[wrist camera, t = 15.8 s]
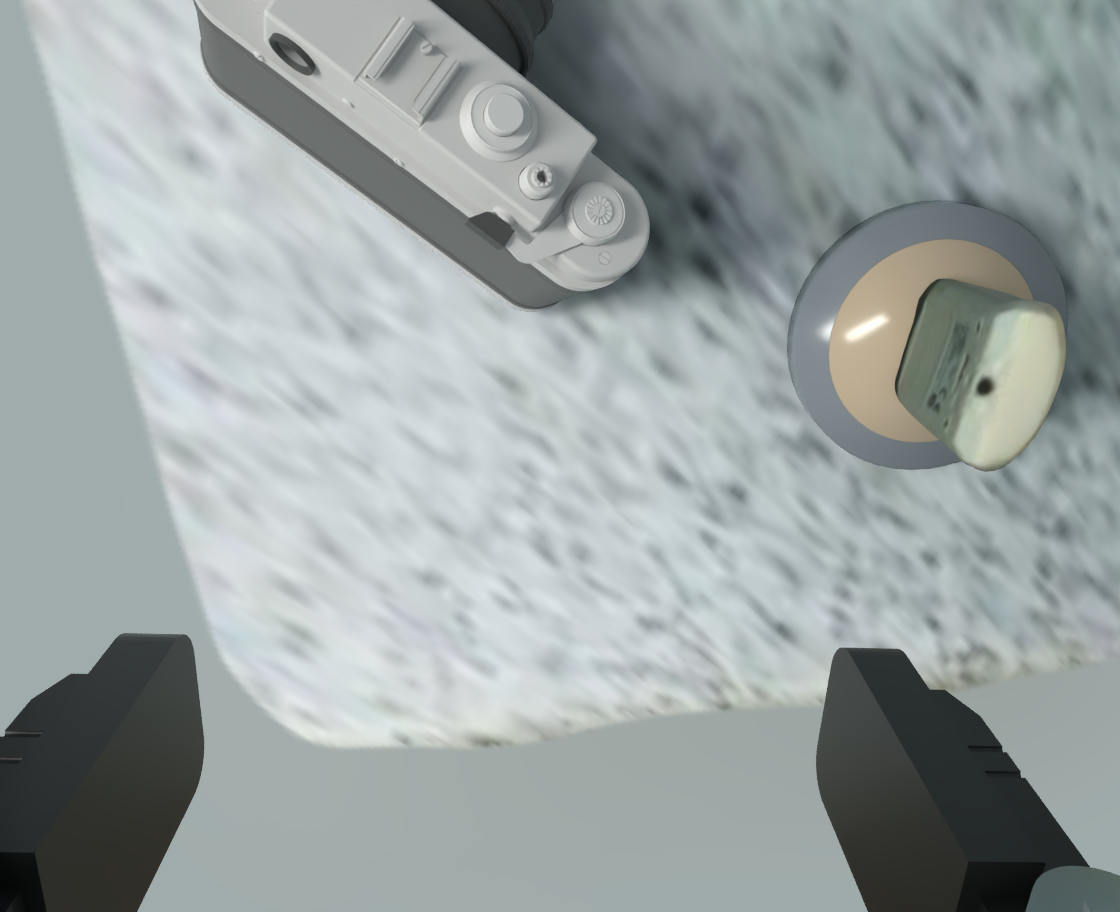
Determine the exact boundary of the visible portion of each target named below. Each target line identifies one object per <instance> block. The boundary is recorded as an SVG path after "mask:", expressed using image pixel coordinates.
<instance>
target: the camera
mask: <svg viewBox="0 0 1120 912" xmlns="http://www.w3.org/2000/svg"><path fill="white" fill-rule="evenodd" d="M193 1H194V5H195V7H196V10H197V15H198V22H199V28H200V34H201V43H200V50H201V58H202V63H203V67H204V70H205V73H206V75H207V77H208V79H209V81H210V82H211V84H212V85H213V87H214V88H215V89H216V90H217V91H218V92H219V93H220V94H221V95H222V96H223V97H225V98H226V99H228V100H229V101H230V102H232V103H233V104H234V105H236V106H237V107H238V108H240V109H241V110H242V111H244V112H245V113H247V114H248V115H249V116H251V117H252V118H253V119H255V120H256V121H257V122H259V123H260V124H262V125H263V126H264V127H266V128H267V129H268V130H270V131H271V132H272V133H274V134H275V135H277V136H278V137H279V138H281V139H282V140H283V141H285V142H286V143H287V144H289V145H290V146H291V147H293V148H294V149H296V150H297V151H298V152H300V153H301V154H302V155H304V156H305V157H306V158H308V159H309V160H311V161H312V162H313V163H315V164H316V165H317V166H319V167H320V168H321V169H323V170H324V171H325V172H327V173H328V174H330V175H331V176H332V177H334V178H335V179H336V180H338V181H339V182H340V183H342V184H343V185H345V186H346V187H347V188H349V189H350V190H351V191H353V192H354V193H355V194H357V195H358V196H360V197H361V198H362V199H364V200H365V201H366V202H368V203H369V204H370V205H372V206H373V207H374V208H376V209H377V210H379V211H380V212H381V213H383V214H384V215H385V216H387V217H388V218H389V219H391V220H392V221H394V222H395V223H396V224H398V225H399V226H400V227H402V228H403V229H404V230H406V231H407V232H409V233H410V234H411V235H413V236H414V237H415V238H417V239H418V240H419V241H421V242H422V243H423V244H425V245H426V246H428V247H429V248H430V249H432V250H433V251H434V252H436V253H437V254H438V255H440V256H441V257H443V258H444V259H445V260H447V261H448V262H449V263H451V264H452V265H453V266H455V267H456V268H457V269H459V270H460V271H462V272H463V273H464V274H466V275H467V276H468V277H470V278H471V279H472V280H474V281H475V282H477V283H478V284H479V285H481V286H482V287H483V288H485V289H486V290H487V291H489V292H490V293H492V294H493V295H494V296H496V297H497V298H498V299H500V300H501V301H502V302H504V303H505V304H507V305H508V306H510V307H512V308H514V309H517V310H520V311H526V312H534V311H540V310H543V309H546V308H549V307H551V306H553V305H555V304H556V303H558V302H559V301H561V300H563V299H565V298H568V297H570V296H573V295H576V294H579V293H585V292H588V291H592V290H596V289H599V288H602V287H605V286H607V285H609V284H611V283H613V282H615V281H616V280H618V279H619V278H620V277H621V276H623V274H624V273H626V272H628V271H629V270H630V269H632V268H633V267H634V266H635V265H636V264H637V263H638V261H639V260H640V259H641V257H642V256H643V254H644V252H645V249H646V247H647V244H648V240H649V233H650V223H649V216H648V212H647V208H646V206H645V203H644V201H643V199H642V197H641V196H640V194H639V193H638V192H637V190H636V189H635V188H634V187H633V186H632V185H631V184H630V183H629V182H628V181H626V180H625V179H624V178H622V177H621V176H620V175H619V174H617V173H616V172H615V171H614V170H612V169H611V168H610V167H609V166H607V165H606V164H605V163H604V162H602V161H601V160H600V159H599V158H597V157H596V156H595V155H594V154H592V153H591V151H592V149H593V148H594V146H595V145H596V143H597V138H596V136H595V135H593V134H592V133H591V132H590V131H588V130H587V129H586V128H585V127H584V126H583V125H582V124H581V123H580V122H579V121H577V120H575V119H574V118H573V117H572V116H570V115H569V114H568V113H567V112H565V111H564V110H563V109H562V108H561V107H559V106H558V105H557V104H556V103H555V102H553V101H552V100H551V99H550V98H548V97H547V96H546V95H545V94H544V93H542V92H541V91H540V90H539V89H538V88H536V87H535V86H534V85H533V84H532V83H530V82H529V81H528V80H527V79H525V78H524V76H525V75H526V74H527V72H528V71H529V69H530V67H531V65H532V60H533V59H532V58H533V52H532V45H533V41H534V39H535V38H536V36H537V35H539V34H540V33H541V32H542V31H543V30H544V29H545V27H546V26H547V25H548V23H549V21H550V19H551V17H552V13H553V4H552V0H193Z"/></svg>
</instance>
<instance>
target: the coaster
mask: <svg viewBox="0 0 1120 912" xmlns="http://www.w3.org/2000/svg"><path fill="white" fill-rule="evenodd" d="M937 279H953V280H958V281H960V282H964V283H969V284H973V285H977V286H981V287H985V288H990V289H995V290H998V291H1001V292H1005V293H1008V294H1011V295H1014V296H1016V297H1019V298H1021V299H1024V300H1034V301H1040V302H1044V303H1048V304H1050V305H1051V306H1053V307H1054V308H1055V309H1057V311H1058V313H1059V314H1060V316H1061V318H1062V321H1063V325H1064V331H1065V338H1066V332H1067V303H1066V295H1065V291H1064V287H1063V284H1062V280H1061V277H1060V274H1059V272H1058V270H1057V268H1056V265H1055V263H1054V261H1053V260H1052V258H1051V257H1050V255H1049V254H1048V252H1047V250H1046V249H1045V248H1044V246H1043V245H1042V244H1041V243H1040V242H1039V241H1038V240H1037V239H1036V238H1035V236H1034V235H1032V234H1031V233H1030V232H1029V231H1027V230H1026V229H1025V228H1024V227H1023V226H1021V225H1020V224H1018V223H1016V222H1015V221H1013V220H1011V219H1010V218H1008V217H1006V216H1004V215H1001V214H999V213H996V212H993V211H991V210H987V209H983V208H979V207H975V206H970V205H966V204H962V203H957V202H948V201H923V202H916V203H911V204H905V205H901V206H898V207H895V208H892V209H889V210H886V211H883V212H881V213H879V214H877V215H875V216H873V217H870V218H868V219H867V220H865V221H863V222H862V223H860V224H859V225H857V226H855V227H854V228H852V229H851V230H850V231H848V232H847V233H846V234H845V235H843V236H842V237H841V238H840V239H838V240H837V241H836V242H835V243H834V244H833V245H832V246H831V247H830V248H829V249H828V250H827V251H826V252H825V253H824V255H823V256H822V257H821V258H820V260H819V261H818V262H817V264H816V265H815V266H814V267H813V269H812V270H811V272H810V274H809V275H808V277H807V279H806V280H805V282H804V284H803V286H802V288H801V290H800V293H799V295H798V297H797V299H796V302H795V305H794V308H793V312H792V315H791V319H790V325H789V331H788V344H787V353H788V364H789V370H790V374H791V378H792V382H793V385H794V387H795V390H796V393H797V395H798V397H799V399H800V401H801V403H802V404H803V406H804V408H805V410H806V411H807V412H808V413H809V415H810V416H811V417H812V419H813V420H814V421H815V422H816V423H817V425H818V426H819V427H820V428H821V429H822V430H823V431H824V433H825V434H826V435H827V436H829V437H830V438H831V439H832V440H833V441H834V442H835V443H836V444H837V445H839V446H840V447H841V448H843V449H844V450H846V451H847V452H849V453H850V454H852V455H854V456H856V457H858V458H860V459H862V460H864V461H867V462H870V463H873V464H876V465H879V466H884V467H889V468H894V469H908V470H915V469H929V468H935V467H941V466H946V465H949V464H952V463H956V462H959V461H961V460H960V459H959V458H958V457H957V456H956V454H955V453H954V452H953V451H952V450H951V449H949V448H948V447H947V446H946V445H945V444H944V443H943V442H942V441H941V440H939V439H938V438H937V437H935V436H934V435H933V434H932V433H931V432H929V431H928V430H927V429H926V428H925V427H924V426H923V425H922V424H920V423H919V422H918V421H917V420H916V419H915V418H914V417H913V416H912V415H911V414H910V413H909V412H908V411H907V410H906V408H905V407H904V406H903V405H902V404H901V403H900V402H899V399H898V397H897V395H896V392H895V379H896V375H897V372H898V369H899V366H900V362H901V359H902V355H903V352H904V349H905V346H906V343H907V339H908V336H909V333H910V330H911V327H912V324H913V321H914V317H915V312H916V308H917V304H918V300H919V298H920V297H921V295H922V294H923V292H924V291H925V289H926V288H927V287H928V286H929V285H930V284H931V283H932V282H934V281H935V280H937Z"/></svg>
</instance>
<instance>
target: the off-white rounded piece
mask: <svg viewBox="0 0 1120 912" xmlns="http://www.w3.org/2000/svg"><path fill="white" fill-rule="evenodd" d="M1065 359H1066V338H1065V331H1064V325H1063V321H1062V318H1061V316H1060V314H1059V313H1058V311H1057V309H1055V308H1054V307H1053V306H1051V305H1050V304H1048V303H1044V302H1040V301H1034V300H1024V299H1021V298H1019V297H1016V296H1014V295H1011V294H1008V293H1005V292H1001V291H998V290H995V289H990V288H985V287H981V286H977V285H973V284H969V283H964V282H960V281H958V280H953V279H937V280H935V281H934V282H932V283H931V284H930V285H929V286H928V287H927V288H926V289H925V291H924V292H923V294H922V295H921V297H920V298H919V300H918V304H917V308H916V312H915V317H914V321H913V324H912V327H911V330H910V333H909V336H908V339H907V343H906V346H905V349H904V352H903V355H902V359H901V362H900V366H899V369H898V372H897V375H896V379H895V392H896V395H897V397H898V399H899V402H900V403H901V404H902V405H903V406H904V407H905V408H906V410H907V411H908V412H909V413H910V414H911V415H912V416H913V417H914V418H915V419H916V420H917V421H918V422H919V423H920V424H922V425H923V426H924V427H925V428H926V429H927V430H928V431H929V432H931V433H932V434H933V435H934V436H935V437H937V438H938V439H939V440H941V441H942V442H943V443H944V444H945V445H946V446H947V447H948V448H949V449H951V450H952V451H953V452H954V453H955V454H956V456H957V457H958V458H959V459H960V460H961V461H962V462H964V463H965V464H967V465H969V466H972V467H974V468H975V469H978V470H981V471H995V470H998V469H1000V468H1003V467H1004V466H1006V465H1007V464H1009V463H1010V462H1011V461H1012V460H1013V459H1014V458H1015V457H1016V456H1018V455H1019V454H1020V453H1021V452H1022V451H1023V450H1024V449H1025V448H1026V447H1027V446H1028V445H1029V443H1030V442H1031V441H1032V440H1033V439H1034V437H1035V436H1036V434H1037V432H1038V431H1039V429H1040V427H1041V426H1042V424H1043V422H1044V420H1045V418H1046V417H1047V414H1048V412H1049V410H1050V408H1051V406H1052V403H1053V401H1054V398H1055V396H1056V393H1057V391H1058V388H1059V385H1060V382H1061V378H1062V375H1063V371H1064V366H1065Z"/></svg>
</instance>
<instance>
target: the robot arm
mask: <svg viewBox="0 0 1120 912" xmlns="http://www.w3.org/2000/svg"><path fill="white" fill-rule="evenodd" d="M203 758H204V735H203V726H202V717H201V709H200V700H199V691H198V683H197V673H196V665H195V656H194V649H193V645H192V642H191V640H190V638H189V637H188V636H187V635H181V634H135V633H132V634H131V633H124V634H121V635H119V636H118V637H117V638H116V639H115V640H114V641H113V643H112V644H111V645H110V647H109V648H108V649H107V650H106V652H105V653H104V654H103V656H102V657H101V658H100V659H99V661H98V662H97V663H96V665H95V666H94V667H93V668H92V670H91V671H90V672H89V674H70V675H68V676H67V677H65V678H64V679H62V680H61V681H59V682H58V683H56V684H55V685H53V686H52V687H50V688H48V689H47V690H45V691H44V692H42V693H41V694H39V695H38V696H36V697H35V698H33V699H31V701H30V702H29V703H28V704H27V705H26V707H25V708H24V709H23V710H22V711H21V712H20V714H19V715H18V716H17V717H16V718H15V719H14V721H13V722H12V723H11V724H10V725H9V727H8V728H7V729H6V730H5V736H4V737H0V912H137V911H138V909H139V907H140V905H141V903H142V901H143V898H144V896H145V894H146V892H147V890H148V888H149V886H150V884H151V882H152V880H153V878H154V876H155V874H156V872H157V870H158V868H159V866H160V864H161V862H162V860H163V858H164V856H165V854H166V852H167V849H168V847H169V845H170V843H171V841H172V839H173V837H174V835H175V833H176V831H177V829H178V827H179V825H180V823H181V821H182V819H183V817H184V815H185V813H186V811H187V809H188V807H189V804H190V802H191V800H192V798H193V796H194V794H195V792H196V789H197V786H198V784H199V780H200V776H201V771H202V765H203ZM816 768H817V780H818V786H819V791H820V795H821V798H822V801H823V803H824V806H825V809H826V811H827V814H828V816H829V818H830V821H831V823H832V826H833V828H834V830H835V833H836V835H837V838H838V840H839V843H840V845H841V847H842V850H843V852H844V855H845V857H846V860H847V862H848V864H849V867H850V869H851V872H852V874H853V877H854V879H855V881H856V884H857V886H858V889H859V891H860V893H861V896H862V898H863V901H864V903H865V906H866V907H867V910H868V912H1120V876H1119V875H1116V874H1113V873H1111V872H1107V871H1103V870H1100V869H1096V868H1090V866H1089V865H1088V864H1087V862H1086V861H1085V859H1084V858H1083V857H1082V855H1081V854H1080V853H1079V851H1078V850H1077V849H1076V847H1075V846H1074V844H1073V843H1072V842H1071V840H1070V839H1069V837H1068V836H1067V835H1066V833H1065V832H1064V831H1063V830H1062V828H1061V827H1060V825H1059V824H1058V822H1057V821H1056V820H1055V818H1054V817H1053V816H1052V814H1051V813H1050V811H1049V810H1048V809H1047V807H1046V806H1045V805H1044V803H1043V802H1042V800H1041V799H1040V798H1039V796H1038V795H1037V793H1036V792H1035V791H1034V789H1033V788H1032V787H1031V786H1030V784H1029V783H1028V781H1027V780H1026V779H1025V778H1021V775H1020V770H1019V769H1018V768H1017V766H1016V765H1015V763H1014V762H1013V761H1012V759H1011V758H1010V757H1009V755H1008V754H1007V753H1006V752H1004V753H1003V751H1002V746H1001V744H1000V743H999V741H998V740H997V739H996V737H995V736H994V734H993V733H992V732H991V730H990V729H989V728H988V726H987V725H986V723H985V722H984V721H983V719H982V718H981V717H980V716H979V715H978V714H977V713H975V712H974V711H973V710H971V709H970V708H969V707H967V706H966V705H964V704H963V703H962V702H960V701H959V700H958V699H956V698H955V697H954V696H952V695H951V694H950V693H948V692H947V691H946V690H929V688H928V687H927V685H926V684H925V682H924V681H923V679H922V678H921V676H920V675H919V673H918V672H917V670H916V669H915V668H914V666H913V665H912V663H911V662H910V660H909V659H908V657H907V656H906V654H905V653H904V652H903V651H902V650H900V649H879V648H839V649H838V650H837V651H836V653H835V655H834V657H833V660H832V665H831V670H830V676H829V681H828V687H827V693H826V699H825V705H824V710H823V717H822V722H821V728H820V734H819V740H818V745H817V755H816Z"/></svg>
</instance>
